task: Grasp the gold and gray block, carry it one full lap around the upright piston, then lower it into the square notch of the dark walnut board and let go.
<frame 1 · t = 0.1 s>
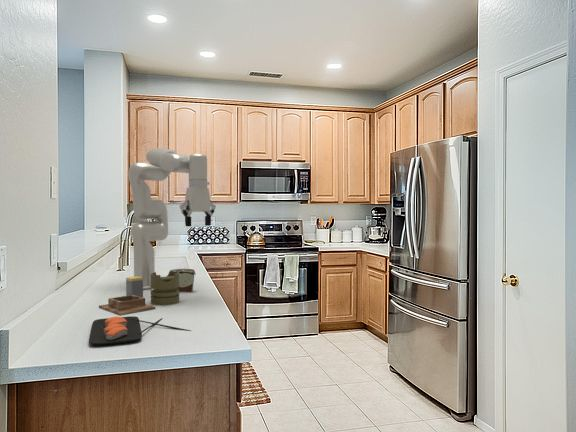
hand: (198, 225, 187), 31 cm above the counter, tool pointing down, fingers open, 9 cm apart
food container: (184, 291, 210), on the counter
sushi plate: (141, 332, 145), on the counter
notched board: (126, 308, 175), on the counter
piston: (165, 302, 186), on the counter
gold and gray block: (134, 298, 193), on the counter
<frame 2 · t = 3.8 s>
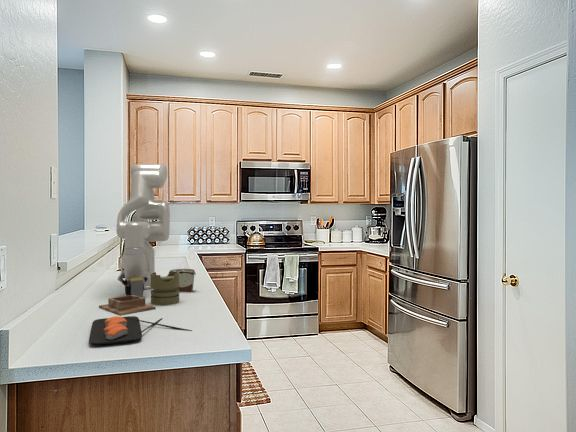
hand: (134, 293, 193), 2 cm above the counter, tool pointing down, fingers closed on gold and gray block, 5 cm apart
gold and gray block: (134, 298, 193), on the counter, touching gripper
everything else where it was.
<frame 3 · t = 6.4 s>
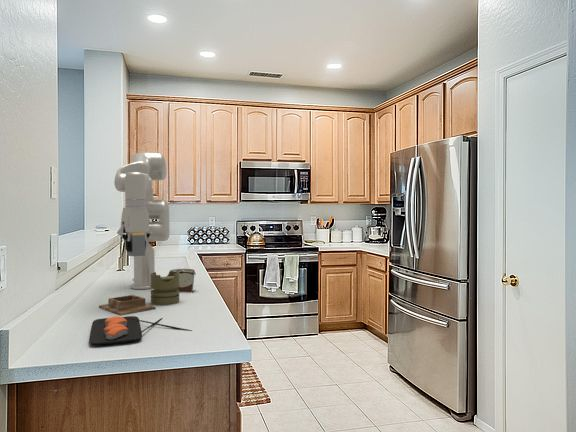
hand: (135, 250, 176), 22 cm above the counter, tool pointing down, fingers closed on gold and gray block, 5 cm apart
gold and gray block: (136, 255, 176), point 20 cm above the counter, touching gripper
everything else where it was.
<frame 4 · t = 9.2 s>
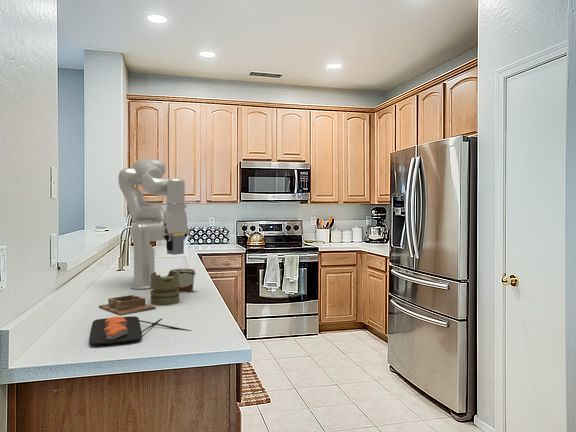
hand: (175, 249, 196), 21 cm above the counter, tool pointing down, fingers closed on gold and gray block, 5 cm apart
gold and gray block: (175, 253, 196), point 19 cm above the counter, touching gripper
everything else where it was.
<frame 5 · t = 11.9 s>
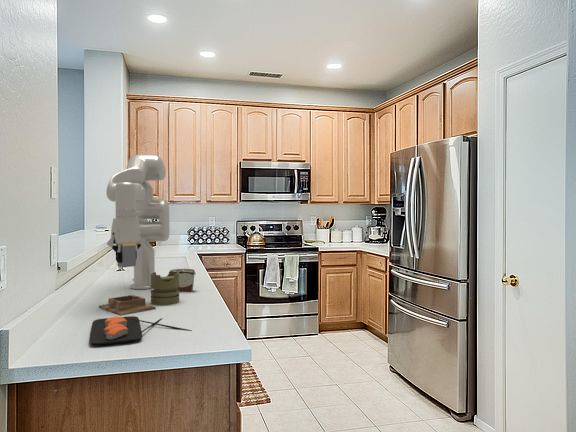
hand: (126, 261, 174), 18 cm above the counter, tool pointing down, fingers closed on gold and gray block, 5 cm apart
gold and gray block: (126, 266, 174), point 16 cm above the counter, touching gripper
everything else where it was.
when the fingers open (5 cm above the counter, at t = 14.5 s): gold and gray block drops 2 cm, resting on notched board.
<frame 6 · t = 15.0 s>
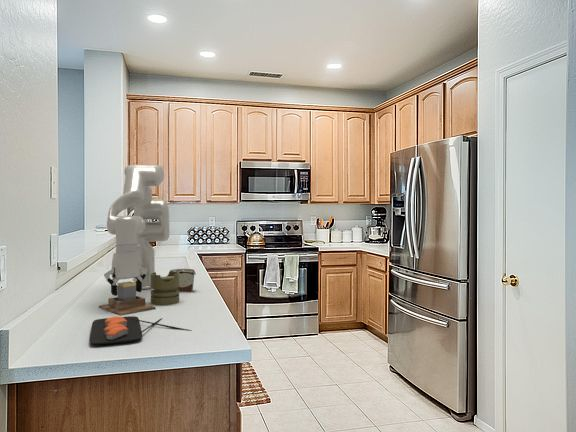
hand: (126, 293, 175), 6 cm above the counter, tool pointing down, fingers open, 9 cm apart
gold and gray block: (126, 306, 175), point 1 cm above the counter, touching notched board
everything else where it was.
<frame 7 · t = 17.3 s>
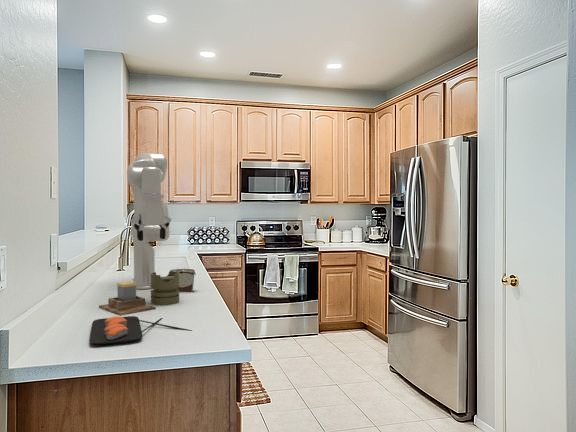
hand: (151, 239, 185), 26 cm above the counter, tool pointing down, fingers open, 9 cm apart
nothing on the counter moved.
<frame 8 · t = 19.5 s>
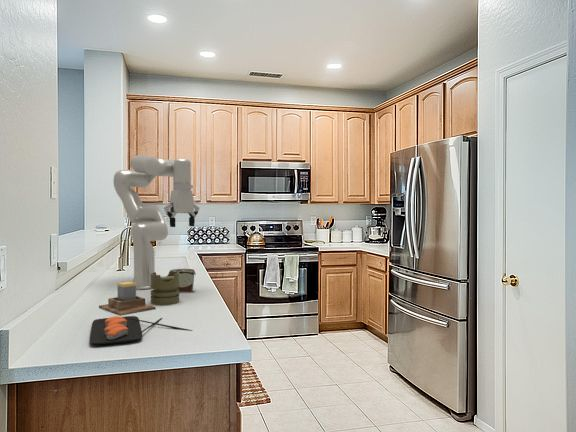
hand: (182, 226, 199), 30 cm above the counter, tool pointing down, fingers open, 9 cm apart
nothing on the counter moved.
at the end: gold and gray block 0.0 cm off-centre on the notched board, point 0.8 cm above the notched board's base; gold and gray block tilted 0°; piston moved 0.3 cm from its start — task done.
